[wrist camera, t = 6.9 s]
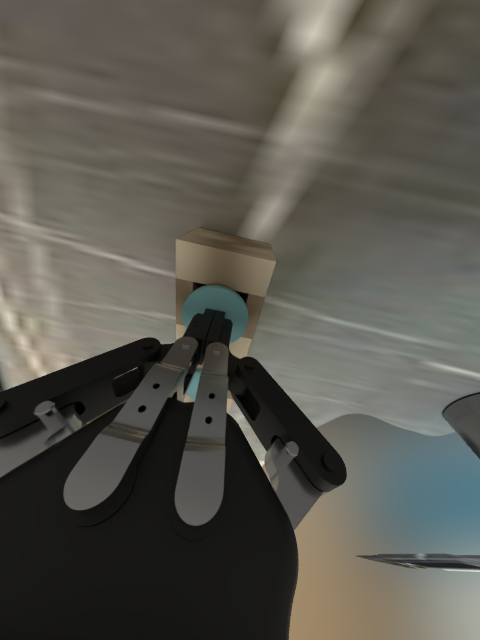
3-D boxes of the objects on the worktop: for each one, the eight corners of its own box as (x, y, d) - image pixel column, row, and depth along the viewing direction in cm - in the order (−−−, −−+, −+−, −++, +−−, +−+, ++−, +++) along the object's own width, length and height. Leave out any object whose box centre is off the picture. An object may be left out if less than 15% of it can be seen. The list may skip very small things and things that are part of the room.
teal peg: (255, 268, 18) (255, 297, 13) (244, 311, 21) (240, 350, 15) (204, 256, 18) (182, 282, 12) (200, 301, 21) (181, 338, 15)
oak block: (270, 244, 17) (276, 261, 12) (233, 374, 28) (229, 411, 24) (198, 227, 17) (175, 239, 12) (190, 366, 28) (176, 402, 23)
